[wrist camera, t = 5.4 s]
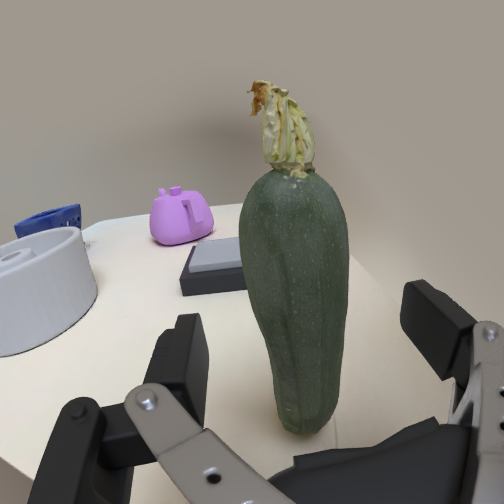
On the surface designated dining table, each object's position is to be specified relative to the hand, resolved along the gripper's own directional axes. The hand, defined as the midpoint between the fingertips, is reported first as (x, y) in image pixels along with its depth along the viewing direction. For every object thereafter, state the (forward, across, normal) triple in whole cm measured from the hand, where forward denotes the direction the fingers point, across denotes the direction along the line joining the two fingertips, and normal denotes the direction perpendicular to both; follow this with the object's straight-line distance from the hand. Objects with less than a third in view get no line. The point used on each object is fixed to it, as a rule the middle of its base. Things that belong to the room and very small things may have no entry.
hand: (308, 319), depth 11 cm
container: (+23, +37, +11) cm, 45 cm away
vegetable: (+2, 0, +11) cm, 11 cm away
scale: (+31, +4, +11) cm, 33 cm away
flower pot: (+48, +47, +11) cm, 68 cm away
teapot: (+53, +16, +11) cm, 56 cm away
